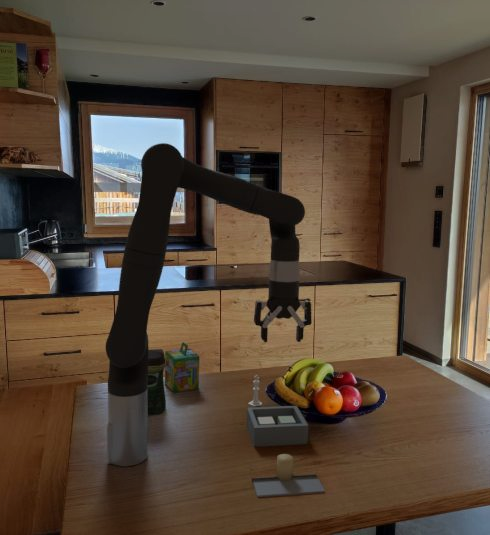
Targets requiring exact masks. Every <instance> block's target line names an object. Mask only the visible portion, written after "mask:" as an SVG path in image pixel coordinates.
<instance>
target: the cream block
mask: <svg viewBox="0 0 490 535" xmlns="http://www.w3.org/2000/svg"><path fill="white" fill-rule="evenodd" d="M257 423H258V425H275V422H274V420H273V418H272V417H257Z"/></svg>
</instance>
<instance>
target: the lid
mask: <svg viewBox="0 0 490 535" xmlns="http://www.w3.org/2000/svg"><path fill="white" fill-rule="evenodd" d="M293 467H294V457H293V456H292V455H291V454H288V453H282V454H278V455H277V458H276V475H277V476H272V477H258V478H257V477H255V478H251V481H252V485H253V488H254V491H255V494H256V498H268V497H280V496H295V495H297V496H298V495H309V494H310V495H311V494H322V493H323V494H325V492H326V490H325V488H324V487H323V485H322V483H321V481H320V479H319V477H318V476H317V474H307V475H306V474H304V475H303V474H302V475H301V474H300V475H293V470H294V468H293Z"/></svg>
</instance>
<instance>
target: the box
mask: <svg viewBox="0 0 490 535" xmlns="http://www.w3.org/2000/svg"><path fill="white" fill-rule="evenodd" d="M278 416H293V418H294V420H295V422H296V424H280V425H278ZM257 417H272V418H273V420H274V422H275V425H258V423H257ZM246 427H247V431H248V433H249V436H250V439H251V442H252V445H253V447H274V446H275V447H277V446H292V445H308V442H309V424H308V422H307V421H306V419H305V417H304V415H303V414H302V412H301V411H300V409H299V407H298V406H297V405H284V406H282V405H281V406H253V407H246Z"/></svg>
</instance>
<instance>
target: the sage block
mask: <svg viewBox="0 0 490 535" xmlns="http://www.w3.org/2000/svg"><path fill="white" fill-rule="evenodd" d="M280 424H296V422H295V420H294V418H293V416H278V425H280Z"/></svg>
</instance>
